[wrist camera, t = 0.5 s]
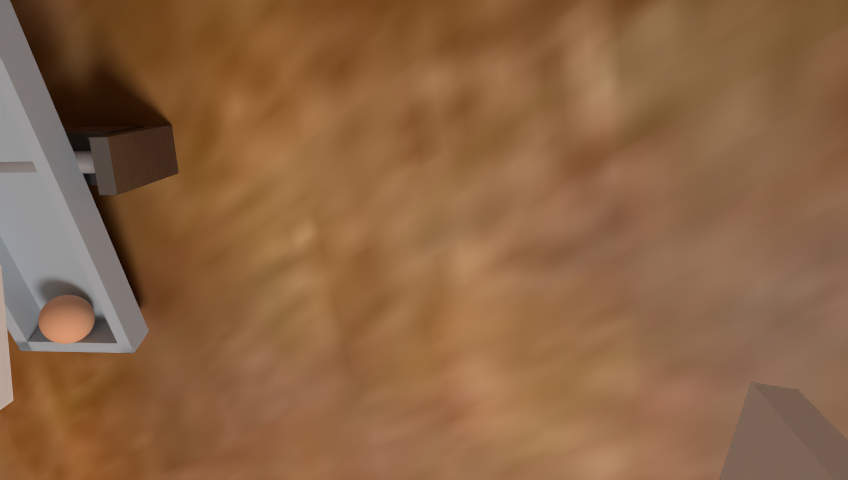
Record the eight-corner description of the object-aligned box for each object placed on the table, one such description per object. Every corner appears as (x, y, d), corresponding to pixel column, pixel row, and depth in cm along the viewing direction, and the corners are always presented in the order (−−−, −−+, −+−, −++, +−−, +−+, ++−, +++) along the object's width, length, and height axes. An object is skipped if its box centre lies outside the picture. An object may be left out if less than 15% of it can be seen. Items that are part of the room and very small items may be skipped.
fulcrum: (-21, 128, 38) (-121, 140, 32) (171, 124, 37) (107, 137, 30) (-11, 174, 39) (-106, 196, 32) (178, 173, 38) (117, 194, 31)
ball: (52, 285, 38) (19, 311, 35) (97, 285, 37) (67, 312, 35) (66, 325, 39) (36, 353, 36) (110, 326, 39) (82, 354, 36)
